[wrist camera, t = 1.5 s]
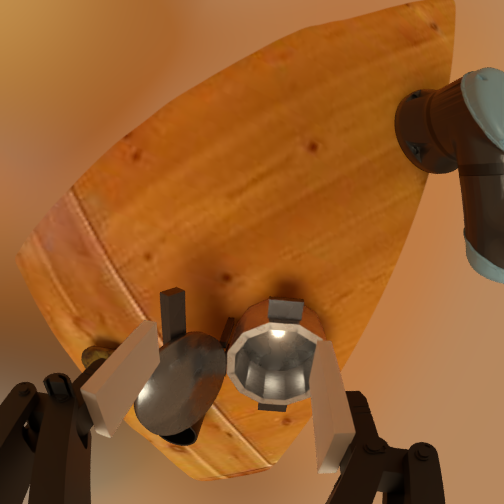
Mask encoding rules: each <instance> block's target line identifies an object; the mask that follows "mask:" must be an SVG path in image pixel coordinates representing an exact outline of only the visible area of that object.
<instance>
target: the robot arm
mask: <svg viewBox="0 0 504 504" xmlns="http://www.w3.org/2000/svg"><path fill="white" fill-rule="evenodd" d="M395 131H396V136H397V139H398V142H399V144H400V146H401V148H402V150H403V152H404V153H405V155H406V156H407V158H408V159H409V160H410V161H411V162H412V163H413V164H414V165H415V166H417V167H418V168H420V169H421V170H423V171H426V172H428V173H434V174H442V173H449V172H452V171H454V170H456V169H457V168H458V171H459V178H460V185H461V193H462V201H463V212H464V225H465V228H464V238H465V242H466V256H467V259H468V261H469V263H470V265H471V266H472V268H473V269H474V270H475V271H476V272H477V273H479V274H480V275H482V276H484V277H486V278H487V279H490V280H492V281H495V282H499V283H503V284H504V72H503V71H500V70H498V69H495V68H488V67H487V68H482V69H480V70H477V71H472V72H468V73H467V74H465V75H464V76H463V77H461V78H459V79H458V80H456V81H454V82H452V83H450V84H449V85H447V86H445V87H443V88H441V89H440V90H431V89H422V90H418V91H415V92H413V93H411V94H410V95H408V96H407V97H405V98H404V99H403V100H402V101H401V103H400V104H399V106H398V108H397V111H396V115H395ZM159 363H160V356H159V347H158V336H157V325H156V322H152V321H147V320H144V321H143V322H142V323H141V324H140V325H139V326H138V327H137V328H136V329H135V330H134V331H133V332H132V333H131V334H130V335H129V337H128V338H127V339H126V340H125V341H124V342H123V343H122V344H121V345H120V346H119V347H118V348H117V349H116V350H115V351H114V352H113V354H112V355H111V356H110V357H109V358H108V359H105V358H99V359H97V360H95V361H93V362H92V363H91V364H90V365H89V366H88V368H87V369H85V370H84V372H83V373H82V374H81V375H80V376H79V377H78V378H77V379H76V380H75V381H74V382H73V383H71V380H70V378H69V377H68V376H67V375H65V374H63V373H54V374H50V375H48V376H47V377H46V378H45V379H44V381H43V382H44V385H45V388H46V390H47V392H48V394H46V393H40V392H37V389H36V387H35V386H34V384H32V383H30V382H22V383H19V384H17V385H16V386H15V387H14V388H13V389H12V390H11V392H10V393H9V394H8V396H7V397H6V398H5V400H4V401H3V402H2V404H1V405H0V504H22V503H23V500H24V498H25V495H26V493H27V490H28V488H29V485H30V491H29V500H28V504H91V492H90V458H91V432H90V429H91V427H92V426H93V425H94V427H95V430H96V432H97V433H99V434H101V435H104V436H107V437H109V438H111V437H112V436H113V434H114V432H115V431H116V429H117V428H118V426H119V425H120V423H121V421H122V420H123V418H124V417H125V415H126V414H127V412H128V411H129V409H130V408H131V406H132V404H133V403H134V401H135V400H136V398H137V397H138V395H139V394H140V392H141V391H142V389H143V387H144V386H145V384H146V383H147V381H148V380H149V378H150V377H151V375H152V374H153V372H154V371H155V369H156V368H157V366H158V364H159ZM309 385H310V394H311V403H312V413H313V423H314V433H315V445H316V457H317V470H318V473H336V472H337V470H338V468H339V466H340V471H341V475H340V476H339V478H338V480H337V482H336V483H335V485H334V488H333V490H332V492H331V495H330V496H329V498H328V500H327V502H326V503H325V504H372V503H373V500H374V497H375V495H376V492H377V491H380V492H383V500H382V504H445V497H444V489H443V482H442V475H441V469H440V464H439V458H438V453H437V451H436V449H435V448H434V447H433V446H432V445H430V444H428V443H424V442H419V443H415V444H413V445H412V446H411V447H410V449H409V450H407V449H399V448H393V447H390V446H388V444H387V442H386V441H385V440H383V439H382V438H380V437H379V436H378V433H377V430H376V427H375V424H374V421H373V417H372V415H371V411H370V408H369V405H368V402H367V399H366V397H365V396H364V395H363V394H362V393H361V392H360V391H345V389H344V385H343V382H342V378H341V374H340V370H339V367H338V363H337V359H336V356H335V352H334V349H333V345H332V342H331V341H319V340H317V344H316V349H315V354H314V359H313V364H312V369H311V374H310V378H309ZM25 422H27V425H26V426H25V427H24V424H25Z"/></svg>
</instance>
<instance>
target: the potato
mask: <svg viewBox="0 0 504 504" xmlns="http://www.w3.org/2000/svg"><path fill="white" fill-rule="evenodd" d="M114 351H115V349H110V348H102V347H96V346H91V347H88V348H87V349H85V350H84V351H83V353H82V363H83V365H84V367H85V368H86V369H87V368H88V366H89V365H90V364H91V363H92V362H93V361H95V360H97V359H99V358H105V359H108V358H109V357H110V356H111V355H112V354H113V352H114Z"/></svg>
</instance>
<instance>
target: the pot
mask: <svg viewBox="0 0 504 504" xmlns="http://www.w3.org/2000/svg"><path fill="white" fill-rule="evenodd" d="M233 326H234V318H230V317H229V318H228V321H227V323H226V326H225V329H224V331H223V334H222V336H221V339H220V344H221V345H222V347H223V348H225V349H226V351H225V352H226V353H227V366H226V372H227V375H228V376H229V378H230V379H231V381H232V382H233V384H234V385H235V386H236V388H237V389H238V391H239V392H240V393H242V394H244V395H246V396H248V397H250V398H251V399H253V400H255V401H257V402H259V404H258V410H266V411H279V412H286V408H287V405H288V404H291V403H294V402H297V401H301V400H304V399H306V398H309V397H311V394H310V385H309V378H310V374H311V369H312V364H313V359H314V354H315V349H316V344H317V340H319V341H327V340H326V336H325V332H324V330H323V327H322V325H321V323H320V321H319V318H318V316H317V314H316V312H314V311H313V310H311V309H310V308H308V307H307V306H305V305H304V299H296V298H284V297H272V296H269V299H267V300H265V301H263V302H260V303H258V304H255V305H253V306H251V307H249V308H248V309H247V311H246V312H245V313H244V315H243V316H242V317H241V319H240V320H239V321H238V323H237V324H236V327H235V330H234V333H233V336H232V340H231V343H230V344H228V341H229V338H230V335H231V332H232V329H233ZM227 344H228V345H227ZM226 347H227V348H226ZM225 375H226V374H225ZM225 375H224V376H225Z"/></svg>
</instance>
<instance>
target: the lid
mask: <svg viewBox="0 0 504 504" xmlns="http://www.w3.org/2000/svg"><path fill="white" fill-rule="evenodd" d="M160 304H161V320H162V333H163V346H162V347H161V348H159V356H160V363H159V364H158V366H157V368H156V369H155V371H154V372H153V374H152V375H151V377H150V378H149V380H148V381H147V383H146V384H145V386H144V387H143V389H142V391H141V392H140V394H139V395H138V397H137V398H136V400H135V401H134V409H135V413H136V416H137V418H138V420H139V422H140V423H141V424H142V425H143V426H144V427H145V428H146V429H148V430H149V431H150V432H152V433H154V434H157V435H162V436H168V435H174V434H177V433H180V432H182V431H184V430H186V429H188V428H189V427H191V426H192V425H193V424H195V423H196V422H197V421H198V420H199V419H200V418H201V417H202V416H203V415H204V414H205V413H206V412H207V411H208V409H209V408H210V407H211V405H212V404H213V402H214V401H215V399H216V397H217V395H218V393H219V391H220V388H221V386H222V383H223V379H224V375H225V374H226V366H227V353H226V352H224V349H223V347H222V345H221V344H220V342H219V341H218V340H217V339H216V338H214V337H212V336H210V335H208V334H206V333H203V332H197V331H196V332H188V333H186V316H185V291H184V290H182V289H180V288H177V287H175V288H172V289H169V290H166V291H162V292H160Z"/></svg>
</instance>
